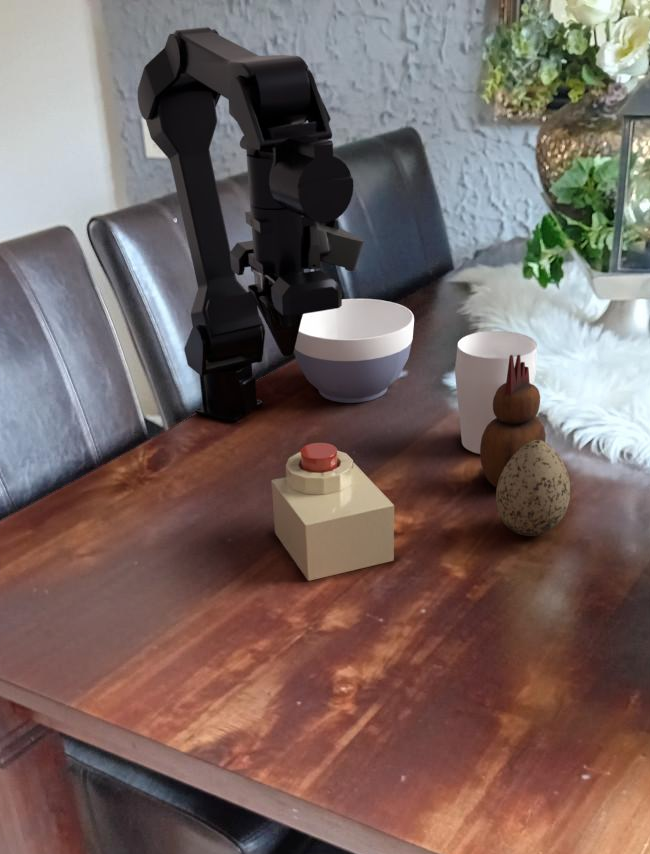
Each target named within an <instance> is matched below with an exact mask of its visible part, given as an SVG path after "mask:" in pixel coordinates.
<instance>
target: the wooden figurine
mask: <svg viewBox="0 0 650 854" xmlns="http://www.w3.org/2000/svg"><path fill="white" fill-rule="evenodd" d="M540 405H541V393H540V390H539V389H538V387H537V386H536V385H535V384H534V383H533V384H531V383H529V368H528V367H525V362H521V360H520V355H517V359H516V364H515V368H514V361H513V355H510V358H509V365H508V373H507V380H506V383H505V384H503V385H501V386H500V387H499V388H498V389H497V391H496V394H495V396H494V399H493V412H494V415H495V416H496V417H497V418H495V419H494V420H492V421H491V422H490V423H489V424H488V425H487V427H486V429H485V431H484V433H483V435H482V439H481V445H480V454H479V456H480V457H479V458H480V465H481V467H482V468H481V469H482V470H483V471H482V472H483V473H484V475H485V477H486V480H487V481H488V482H489V483H490V484H491V485H492V486H493V487H495V488H497V485H498V481H499V478H500V476H501V473H502V471H503V469H504V467H505V466H506V464H507V463H508V461H509V460H510V459H511V457H512V456H513V455H514V454H515V453H516V452H517V451H518V450H519V449H520V448H522V447H523V446H524V445H526V444H527V443H529V442H531V441H533V440H541V441H544V442H547V441H546V439H547V435H546V430H545V426H544V424H543V423H542V421H541V419H540V418H539V417H538V413H539V410H540Z"/></svg>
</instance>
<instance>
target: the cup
mask: <svg viewBox="0 0 650 854" xmlns="http://www.w3.org/2000/svg"><path fill="white" fill-rule="evenodd" d="M537 349H538V344H537V341H536V340H535V339H534V338H532V337H530V336H528V335H526V334H523V333H519V332H514V331H508V330H507V331H505V330H486V331H480V332H474V333H470V334H468V335H465V336H463V337H462V338H460V339H459V341H458V342H457V349H456V357H455V366H454V376H455V387H456V397H457V407H458V417H459V429H460V437H461V445H462V446H463V448H465V449H466V450H468V451H470V452H471V453H474V454H477V455H480V445H481V439H482V435H483V433H484V431H485V429H486V427H487V425H488V424H489V423H490V422H491V421H492V420H494V419H495V418H497V417H496V416H495V415H494V412H493V399H494V396H495V394H496V391H497V389H498V388H499V387H500V386H501V385H503V384H505V383H506V380H507V373H508V365H509V358H510V355H513V361H514V368H515V364H516V359H517V355H520V360H521V362H525V367H528V368H529V383H531V384H533V385H534V383H535V380H536V379H535V378H536V373H537V351H538V350H537Z"/></svg>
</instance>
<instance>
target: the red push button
mask: <svg viewBox="0 0 650 854" xmlns="http://www.w3.org/2000/svg"><path fill="white" fill-rule="evenodd" d="M337 451H338V448H337V446H335V445H334V444H332V443H328V442H314V443H313V442H312V443H310V444H307V445H304V446H303V447H302V448H301V449H300V452H301V468H302V470H304V471H307V472H312V473H324V472H328V471H332V470H334V469H336V468H337V467H338V458H337Z"/></svg>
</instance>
